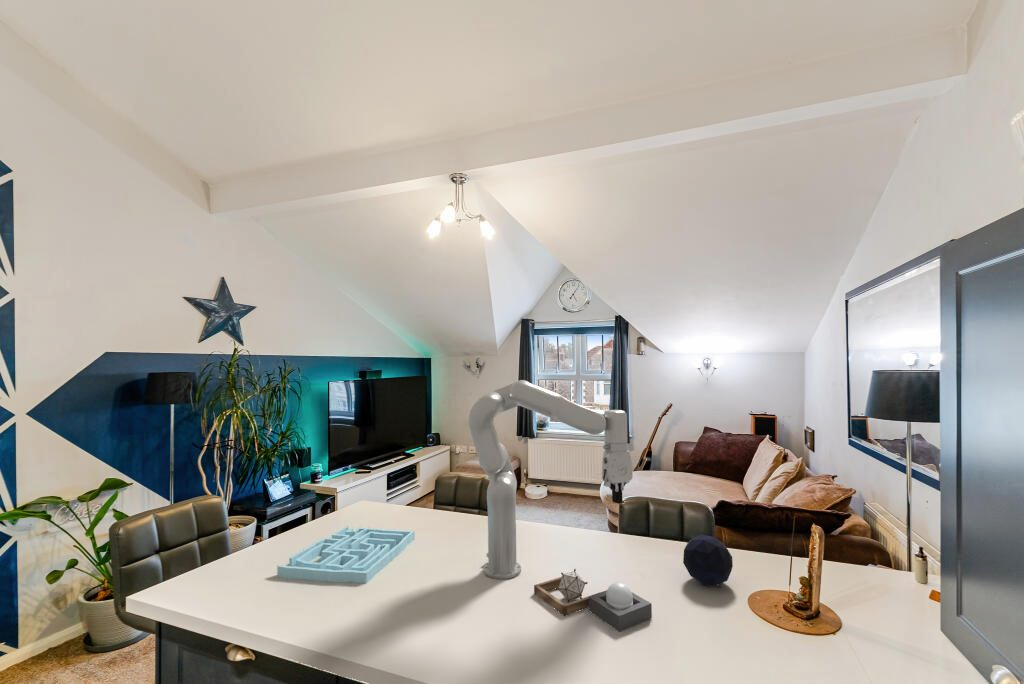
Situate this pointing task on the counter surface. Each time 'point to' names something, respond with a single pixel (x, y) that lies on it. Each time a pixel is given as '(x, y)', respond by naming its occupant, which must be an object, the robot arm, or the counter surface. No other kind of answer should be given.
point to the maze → (348, 555)
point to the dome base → (620, 611)
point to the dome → (619, 596)
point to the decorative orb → (707, 560)
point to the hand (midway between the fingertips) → (617, 502)
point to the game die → (571, 586)
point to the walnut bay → (554, 602)
